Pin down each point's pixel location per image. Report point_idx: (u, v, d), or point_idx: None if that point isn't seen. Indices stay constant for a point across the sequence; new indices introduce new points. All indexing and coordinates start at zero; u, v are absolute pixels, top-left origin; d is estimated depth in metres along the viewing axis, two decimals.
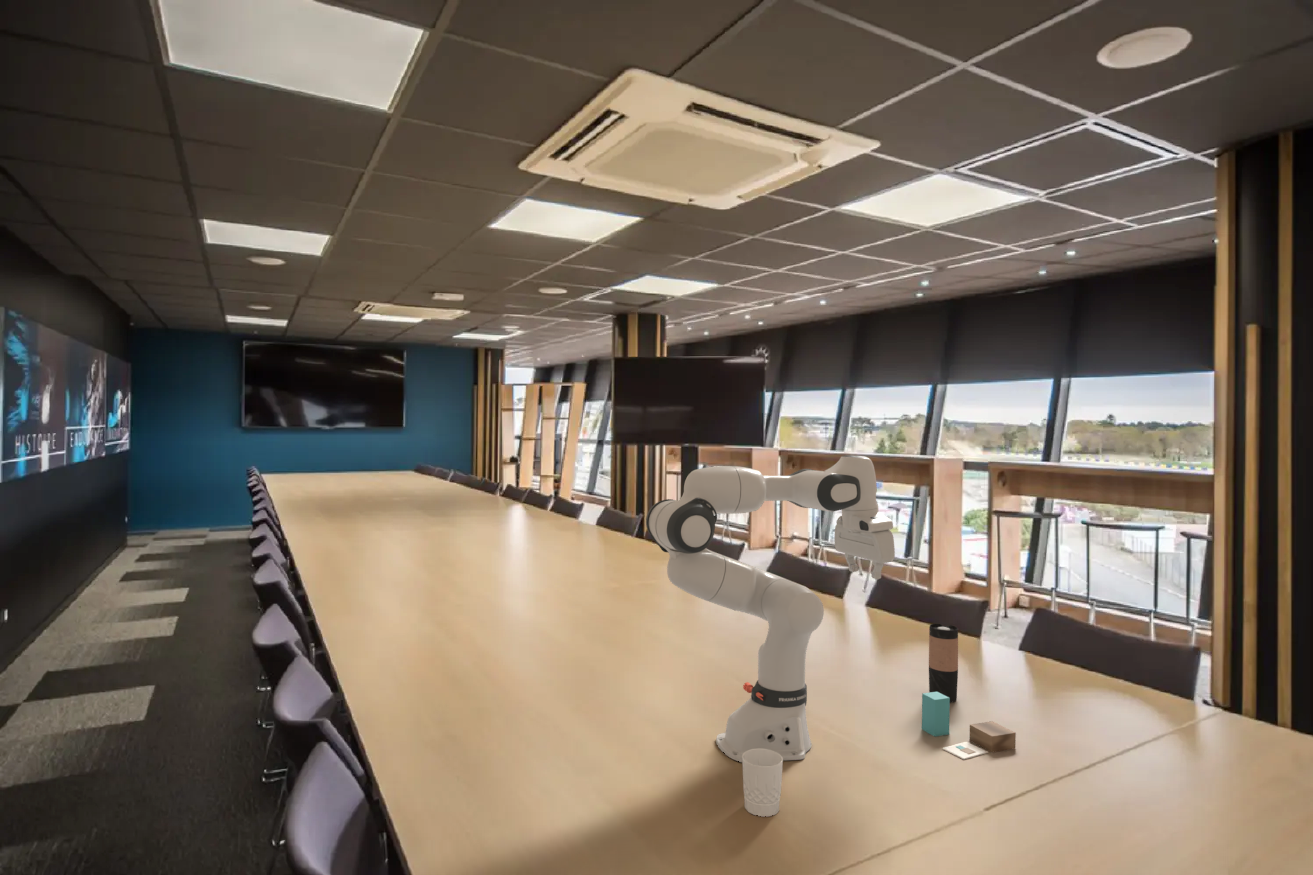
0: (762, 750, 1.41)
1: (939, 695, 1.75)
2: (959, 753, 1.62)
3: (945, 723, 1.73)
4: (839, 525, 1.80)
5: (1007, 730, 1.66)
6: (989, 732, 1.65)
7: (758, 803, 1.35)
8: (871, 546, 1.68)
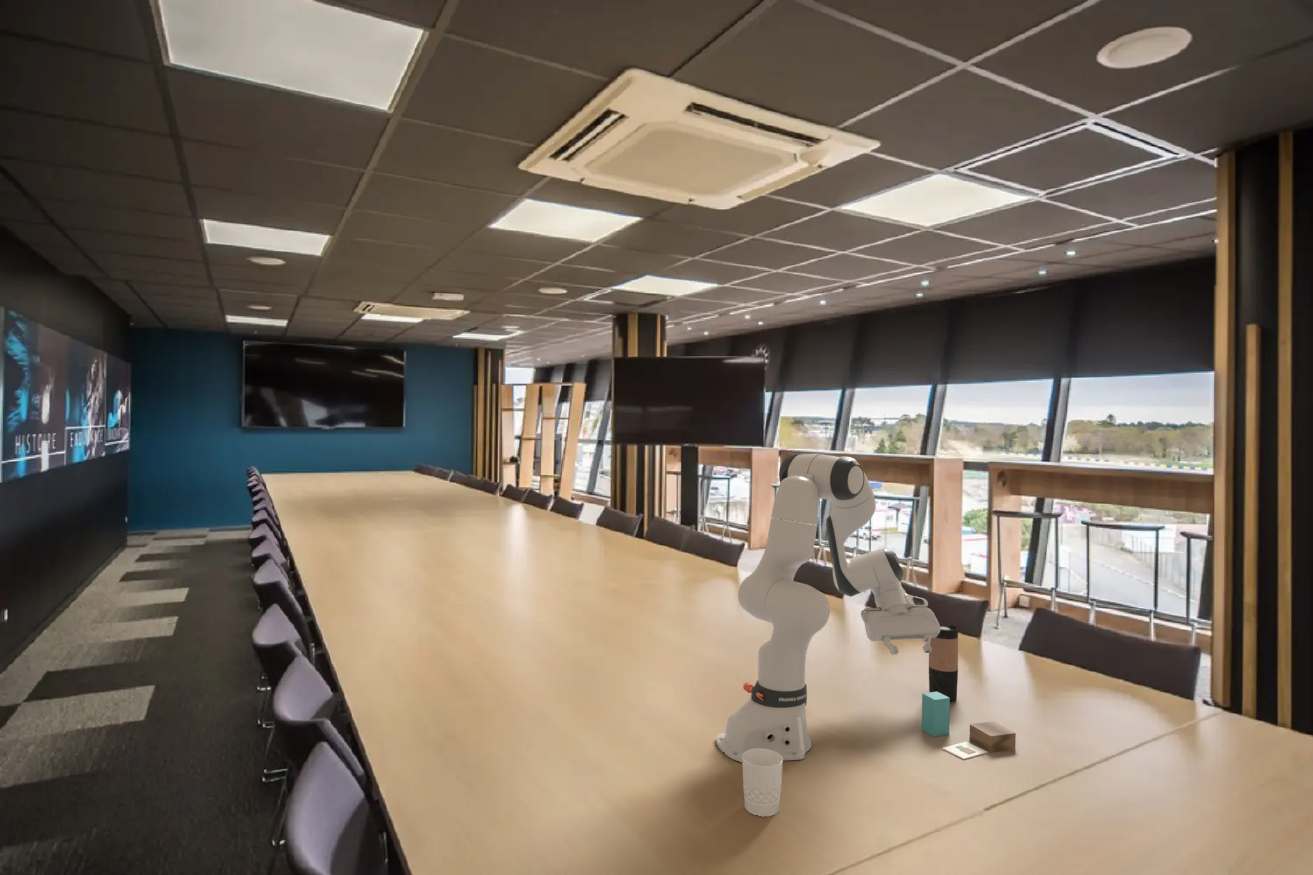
0: (762, 750, 1.41)
1: (939, 695, 1.75)
2: (959, 753, 1.62)
3: (945, 723, 1.73)
4: (875, 611, 1.93)
5: (1007, 731, 1.66)
6: (988, 732, 1.65)
7: (758, 803, 1.35)
8: (924, 620, 1.92)
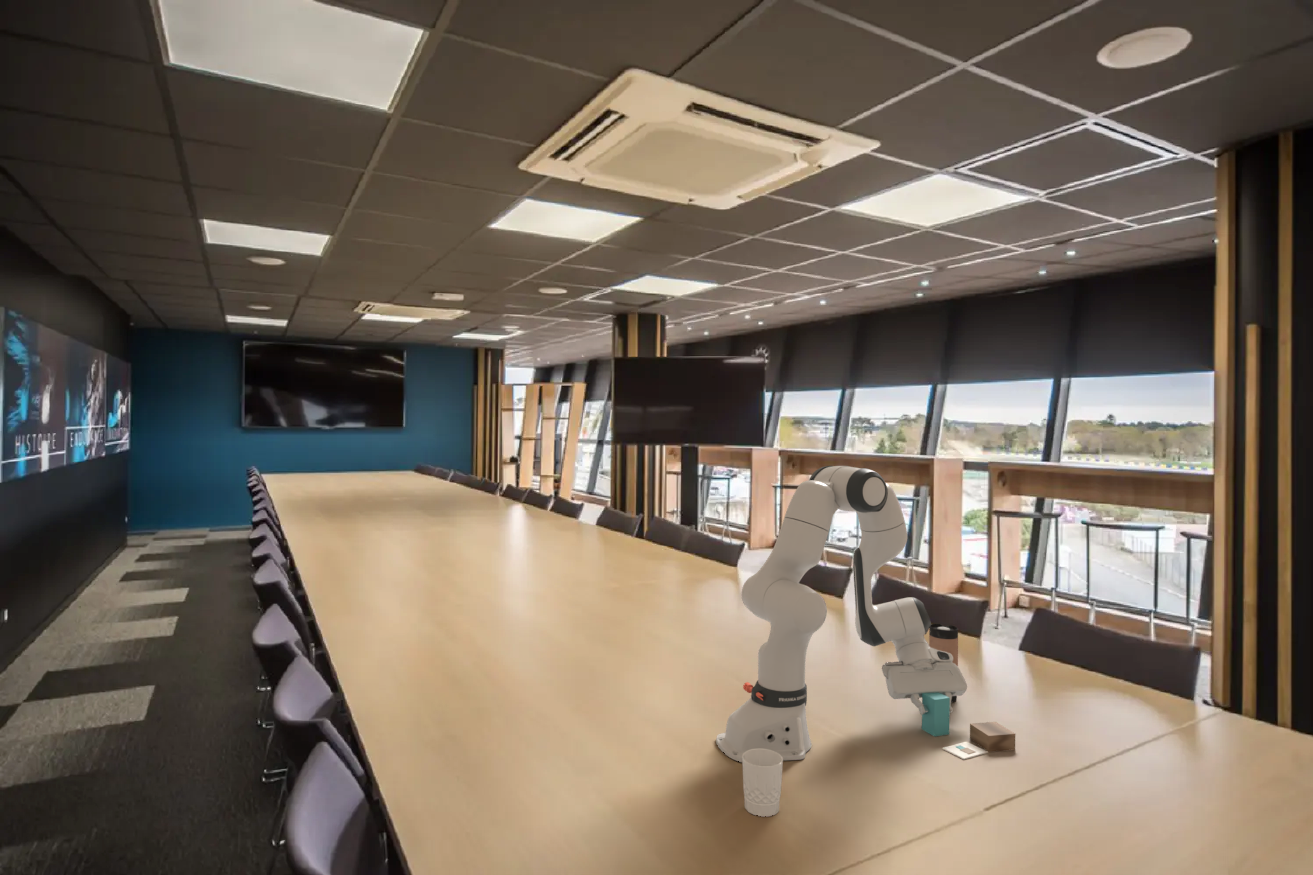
0: (762, 750, 1.41)
1: (939, 695, 1.75)
2: (959, 753, 1.62)
3: (945, 723, 1.73)
4: (897, 666, 1.80)
5: (1007, 731, 1.66)
6: (987, 732, 1.66)
7: (758, 803, 1.35)
8: (950, 676, 1.79)
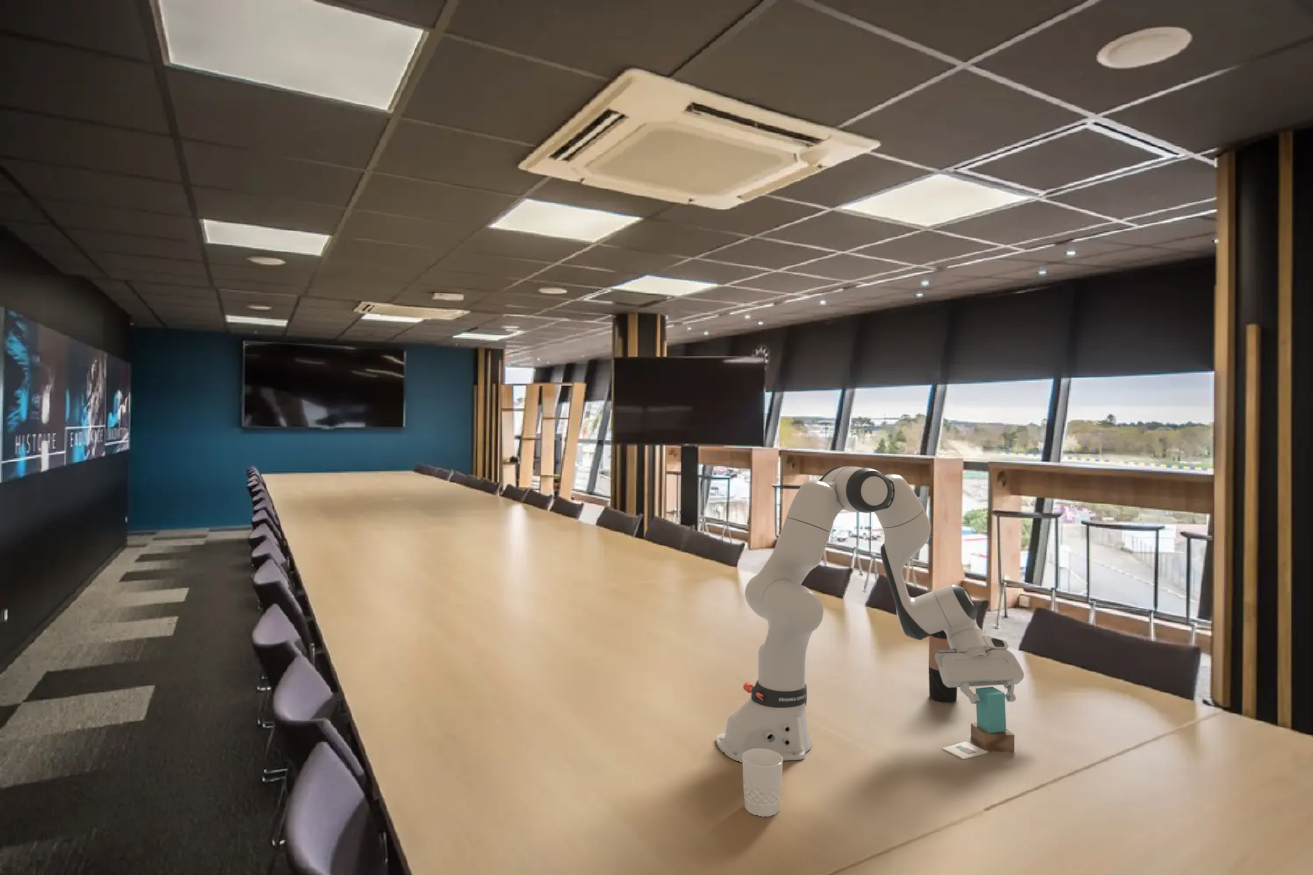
0: (762, 750, 1.41)
1: (994, 690, 1.68)
2: (959, 753, 1.62)
3: (1000, 720, 1.66)
4: (950, 653, 1.73)
5: (1006, 732, 1.66)
6: (985, 731, 1.66)
7: (758, 803, 1.35)
8: (1005, 664, 1.73)
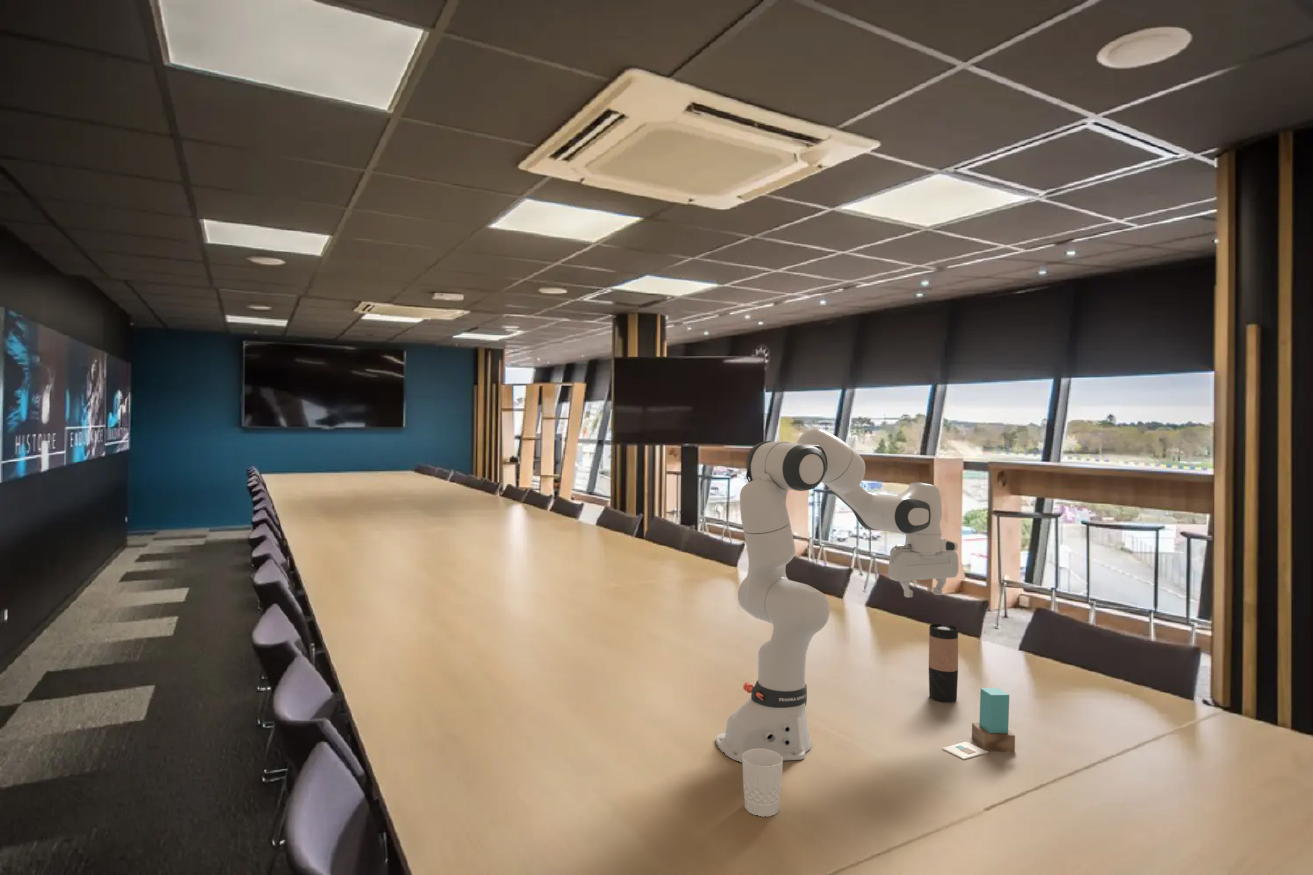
0: (762, 750, 1.41)
1: (999, 691, 1.67)
2: (959, 753, 1.62)
3: (1003, 721, 1.65)
4: (906, 553, 1.83)
5: None
6: (985, 731, 1.66)
7: (758, 803, 1.35)
8: (947, 564, 1.87)
